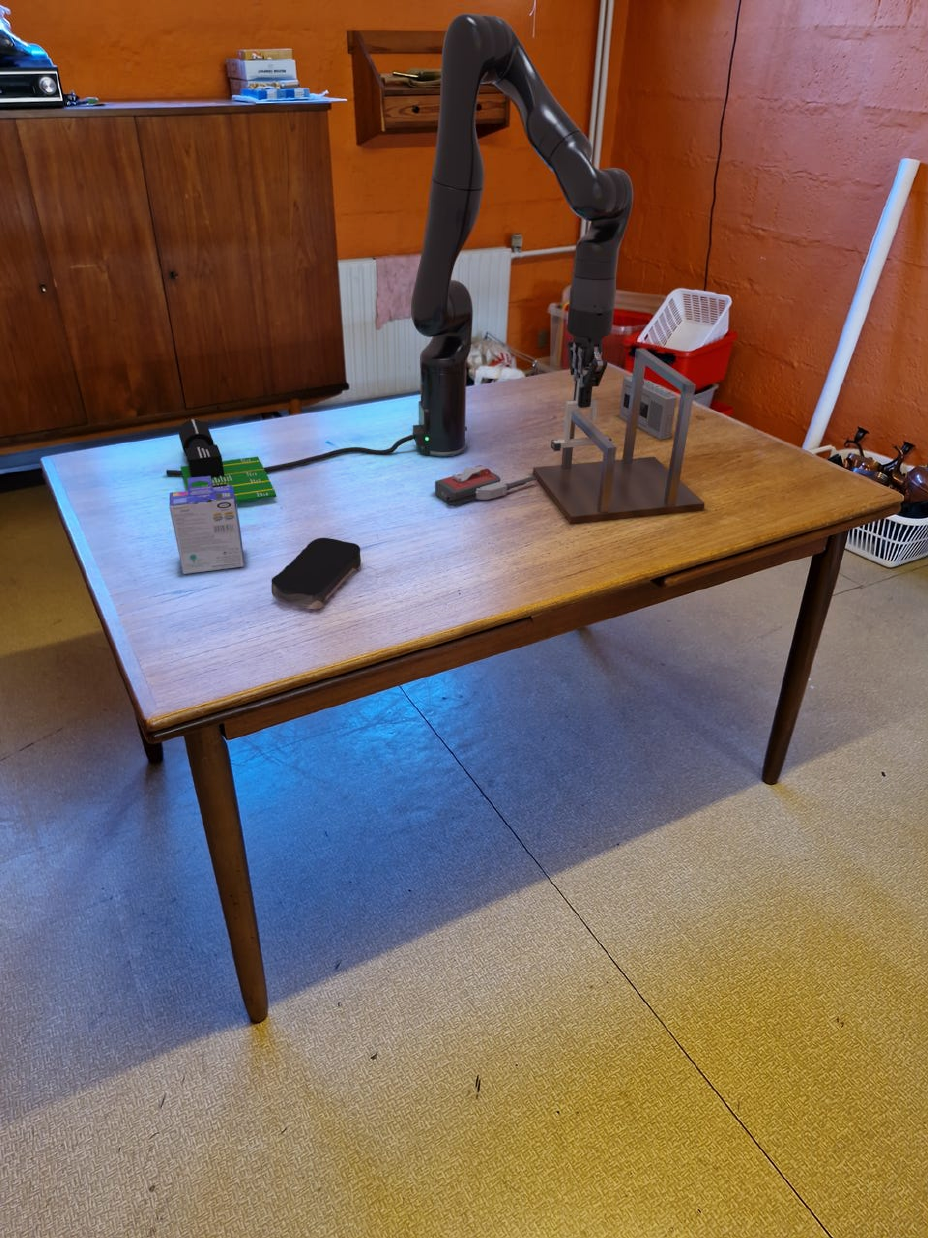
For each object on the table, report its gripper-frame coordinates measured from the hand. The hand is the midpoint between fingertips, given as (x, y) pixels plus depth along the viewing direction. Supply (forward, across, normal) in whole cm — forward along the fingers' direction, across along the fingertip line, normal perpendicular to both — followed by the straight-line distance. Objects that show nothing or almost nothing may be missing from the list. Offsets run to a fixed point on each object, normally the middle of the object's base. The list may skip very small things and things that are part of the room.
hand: (581, 404), depth 151 cm
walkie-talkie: (+18, -5, -16) cm, 25 cm away
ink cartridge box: (+18, +11, -66) cm, 69 cm away
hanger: (+8, 0, +1) cm, 8 cm away
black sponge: (+18, +22, -50) cm, 57 cm away
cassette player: (+18, -30, +28) cm, 45 cm away
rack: (+18, 0, +8) cm, 20 cm away
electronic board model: (+18, -23, -64) cm, 70 cm away
